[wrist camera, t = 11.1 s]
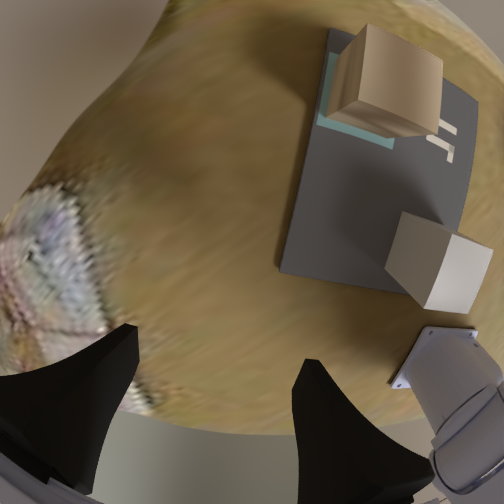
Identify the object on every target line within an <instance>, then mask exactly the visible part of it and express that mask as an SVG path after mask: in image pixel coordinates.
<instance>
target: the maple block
mask: <svg viewBox="0 0 504 504" xmlns="http://www.w3.org/2000/svg"><path fill="white" fill-rule="evenodd" d="M442 77H443V61H442V60H441V59H439V58H437V57H436V56H434V55H432V54H431V53H429V52H427V51H426V50H424V49H422V48H420V47H418V46H416V45H415V44H413V43H411V42H409V41H407V40H405V39H403V38H401V37H399V36H397V35H394V34H392V33H390V32H388V31H386V30H383V29H381V28H379V27H376V26H374V25H371V24H369V23H367V24H366V25H365V26H364V28H363V29H362V30H361V31H360V32H359V33H358V34H357V35H356V37H355V38H354V39H353V40H352V41H351V42H350V44H349V45H348V46H347V47H346V48H345V49H344V51H343V52H342V53H341V54H340V55H339V57H338V58H337V59H336V62H335V68H334V74H333V79H332V85H331V91H330V96H329V102H328V107H327V112H326V118H327V119H330V120H333V121H337V122H340V123H343V124H346V125H350V126H353V127H356V128H359V129H362V130H364V131H367V132H370V133H373V134H376V135H378V136H381V137H384V138H386V139H388V138H398V137H409V136H422V135H438V127H439V119H440V109H441V97H442Z"/></svg>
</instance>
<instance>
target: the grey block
mask: <svg viewBox="0 0 504 504" xmlns="http://www.w3.org/2000/svg"><path fill="white" fill-rule="evenodd" d="M492 253H493V250H492V249H490V248H488V247H487V246H485V245H483V244H481V243H479V242H477V241H475V240H473V239H471V238H469V237H467V236H465V235H463V234H461V233H459V232H457V231H455V230H453V229H450V228H448V227H446V226H444V225H441V224H439V223H436V222H433V221H430V220H428V219H425V218H422V217H419V216H416V215H413V214H410V213H407V212H404V211H402V214H401V217H400V221H399V224H398V228H397V231H396V234H395V238H394V241H393V244H392V247H391V250H390V253H389V256H388V259H387V262H386V265H385V268H384V269H385V270H386V271H387V272H388V273H389V274H390V275H391V276H392V277H393V278H394V279H395V280H396V281H397V282H398V283H399V284H400V285H401V286H402V287H403V288H404V289H405V290H406V291H407V292H408V293H409V294H410V295H411V296H412V297H413V298H414V299H415V300H416V301H417V302H418V303H419V304H420V306H421V307H422V308H423V309H429V310H437V311H445V312H454V313H463V314H468V313H469V311H470V308H471V306H472V304H473V302H474V300H475V298H476V295H477V293H478V291H479V288H480V286H481V283H482V281H483V278H484V276H485V273H486V270H487V268H488V265H489V262H490V259H491V256H492Z"/></svg>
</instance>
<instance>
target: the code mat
mask: <svg viewBox="0 0 504 504" xmlns="http://www.w3.org/2000/svg"><path fill="white" fill-rule="evenodd" d="M355 37H356V36H355V35H352V34H349V33H346V32H343V31H340V30H337V29H334V28H330V29H329V32H328V38H327V44H326V50H325V56H324V61H323V67H322V73H321V78H320V83H319V89H318V94H317V99H316V104H315V110H314V115H313V120H312V125H311V130H310V134H309V139H308V144H307V149H306V154H305V158H304V163H303V167H302V172H301V177H300V181H299V186H298V190H297V194H296V199H295V203H294V208H293V212H292V216H291V220H290V225H289V229H288V233H287V237H286V241H285V245H284V250H283V254H282V258H281V262H280V266H279V272H281V273H286V274H292V275H297V276H303V277H308V278H314V279H319V280H325V281H331V282H336V283H342V284H348V285H353V286H359V287H365V288H371V289H377V290H383V291H389V292H395V293H401V294H407V295H410V294H409V293H408V292H407V291H406V290H405V289H404V288H403V287H402V286H401V285H400V284H399V283H398V282H397V281H396V280H395V279H394V278H393V277H392V276H391V275H390V274H389V273H388V272H387V271H386V270H385V269H384V268H385V265H386V262H387V259H388V256H389V253H390V250H391V247H392V244H393V241H394V238H395V234H396V231H397V228H398V224H399V221H400V217H401V214H402V211H404V212H407V213H410V214H413V215H416V216H419V217H422V218H425V219H428V220H430V221H433V222H436V223H439V224H441V225H444V226H446V227H448V228H450V229H453V230H455V231H457V230H458V227H459V223H460V220H461V216H462V212H463V208H464V204H465V200H466V196H467V191H468V186H469V181H470V176H471V170H472V164H473V158H474V151H475V143H476V133H477V121H478V101H476V100H475V99H474V98H472V97H471V96H469V95H468V94H467V93H465V92H464V91H462V90H461V89H459V88H458V87H456V86H455V85H453V84H452V83H450V82H449V81H447V80H446V79H444V78H442V97H441V109H440V119H439V127H438V135H422V136H409V137H398V138H388V139H386V138H384V137H381V136H378V135H376V134H373V133H370V132H367V131H364V130H362V129H359V128H356V127H353V126H350V125H346V124H343V123H340V122H337V121H333V120H330V119H327V118H326V112H327V107H328V102H329V96H330V91H331V85H332V79H333V74H334V68H335V62H336V59H337V58H338V57H339V55H340V54H341V53H342V52H343V51H344V49H345V48H346V47H347V46H348V45H349V44H350V42H351V41H352V40H353V39H354V38H355Z"/></svg>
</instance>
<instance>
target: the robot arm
mask: <svg viewBox="0 0 504 504" xmlns="http://www.w3.org/2000/svg"><path fill="white" fill-rule="evenodd" d="M477 334H478V331H477V330H476V329H460V328H443V327H429V326H427V327H425V328H424V329H423V330H422V332H421V334H420V336H419V338H418V339H417V341H416V343H415V345H414V347H413V349H412V350H411V352H410V354H409V356H408V357H407V359H406V361H405V362H404V364H403V366H402V367H401V369H400V371H399V372H398V374H397V375H396V377H395V378H394V380H393V381H392V383H391V385H390V386H391V388H392V389H398V388H412V390H413V392H414V394H415V396H416V398H417V399H418V401H419V403H420V405H421V407H422V409H423V411H424V413H425V415H426V417H427V418H428V421H429V423H430V424H431V427H432V429H433V431H434V433H435V435H436V437H435V438H434V439H433V440H432V441H431V443H432V445H433V448H434V449H433V450H432V451H431V453H430V454H429V458H428V459H427V458H425V457H423V456H420V455H418V454H416V453H414V452H412V451H410V450H408V449H407V448H405V447H403V446H402V445H400V444H398V443H397V442H395V441H394V440H392V439H391V438H389V437H388V436H386V435H385V434H384V433H383V432H381V431H380V430H379V429H378V428H376V427H375V426H374V425H373V424H372V423H371V422H370V421H368V420H367V419H366V418H365V417H364V416H363V415H362V414H361V413H360V412H359V411H358V410H357V409H356V407H355V406H354V405H353V404H352V403H351V402H350V401H349V399H348V398H347V397H346V396H345V395H344V393H343V392H342V391H341V390H340V388H339V387H338V386H337V384H336V383H335V382H334V380H333V379H332V378H331V376H330V375H329V373H328V372H327V371H326V369H325V368H324V366H323V365H322V364H321V362H320V361H319V360H315V359H305V361H304V363H303V365H302V368H301V370H300V372H299V375H298V377H297V379H296V381H295V384H294V386H293V388H292V413H293V420H294V427H295V434H296V440H297V448H298V457H299V485H298V486H299V487H298V503H297V504H411V503H413V502H414V498H413V495H414V494H415V493H417V492H418V491H420V490H421V489H423V488H424V487H425V486H427V485H428V484H429V483H431V482H432V483H433V485H434V486H435V487H436V488H437V489H438V490H439V491H440V492H442V493H443V494H444V495H445V496H446V497H447V498H448V500H449V501H450V502H451V504H504V462H503V463H502V464H500V465H499V466H498V467H497V468H496V469H494V470H493V471H492V472H491V473H489V474H488V475H487V476H485V477H483V478H481V477H482V476H483V475H485V474H486V473H487V472H489V471H490V470H491V469H492V468H494V467H495V466H496V465H497V464H498V463H499V462H501V461H502V460H503V459H504V379H503V373H502V370H501V368H500V367H499V365H498V364H497V363H496V362H495V361H494V360H493V358H492V357H491V356H490V355H489V354H488V353H487V352H486V351H485V349H484V348H483V347H482V346H481V345H480V344H479V343H478V342H477V341H476V340H475V338H476V336H477ZM139 361H140V359H139V345H138V327H137V326H133V325H130V324H126V323H124V324H123V325H121V326H120V327H118V328H116V329H115V330H113V331H112V332H110V333H109V334H107V335H106V336H104V337H103V338H101V339H100V340H98V341H96V342H95V343H93V344H92V345H90V346H88V347H86V348H85V349H83V350H81V351H79V352H77V353H76V354H74V355H72V356H70V357H68V358H66V359H63V360H61V361H59V362H56V363H54V364H51V365H48V366H45V367H42V368H39V369H36V370H33V371H29V372H25V373H20V374H14V375H7V376H0V503H1V504H103V503H101V502H99V501H96V500H94V499H92V498H90V497H87V496H85V495H89V494H91V493H92V489H93V484H94V478H95V473H96V469H97V465H98V461H99V457H100V453H101V450H102V446H103V443H104V440H105V437H106V434H107V431H108V428H109V425H110V423H111V420H112V418H113V416H114V414H115V412H116V410H117V408H118V406H119V404H120V403H121V401H122V399H123V397H124V395H125V393H126V391H127V389H128V387H129V386H130V384H131V382H132V380H133V377H134V375H135V372H136V369H137V367H138V364H139ZM480 478H481V479H480ZM424 504H440V502H439V499H438V498H435V499H433V500H431V501H428V502H426V503H424Z"/></svg>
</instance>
